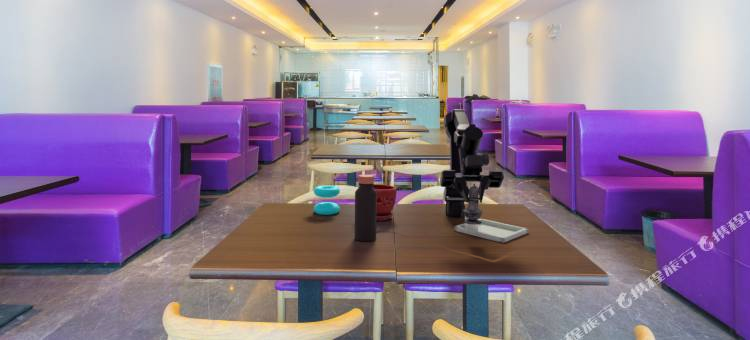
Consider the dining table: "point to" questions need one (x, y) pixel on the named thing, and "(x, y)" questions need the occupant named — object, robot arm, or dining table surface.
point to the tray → (493, 231)
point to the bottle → (365, 209)
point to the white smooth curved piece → (471, 226)
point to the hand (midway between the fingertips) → (474, 202)
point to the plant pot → (385, 201)
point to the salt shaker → (473, 207)
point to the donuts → (326, 207)
